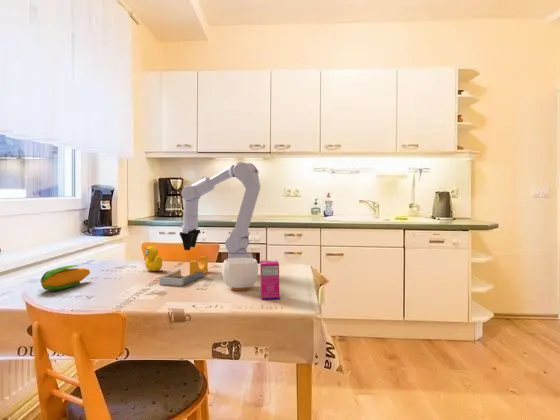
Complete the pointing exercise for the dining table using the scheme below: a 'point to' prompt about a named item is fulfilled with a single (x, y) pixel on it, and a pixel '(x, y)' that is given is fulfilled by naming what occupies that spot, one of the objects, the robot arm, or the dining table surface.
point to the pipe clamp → (199, 265)
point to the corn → (63, 277)
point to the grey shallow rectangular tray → (175, 279)
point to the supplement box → (269, 279)
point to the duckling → (153, 259)
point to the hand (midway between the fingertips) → (189, 248)
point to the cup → (240, 272)
